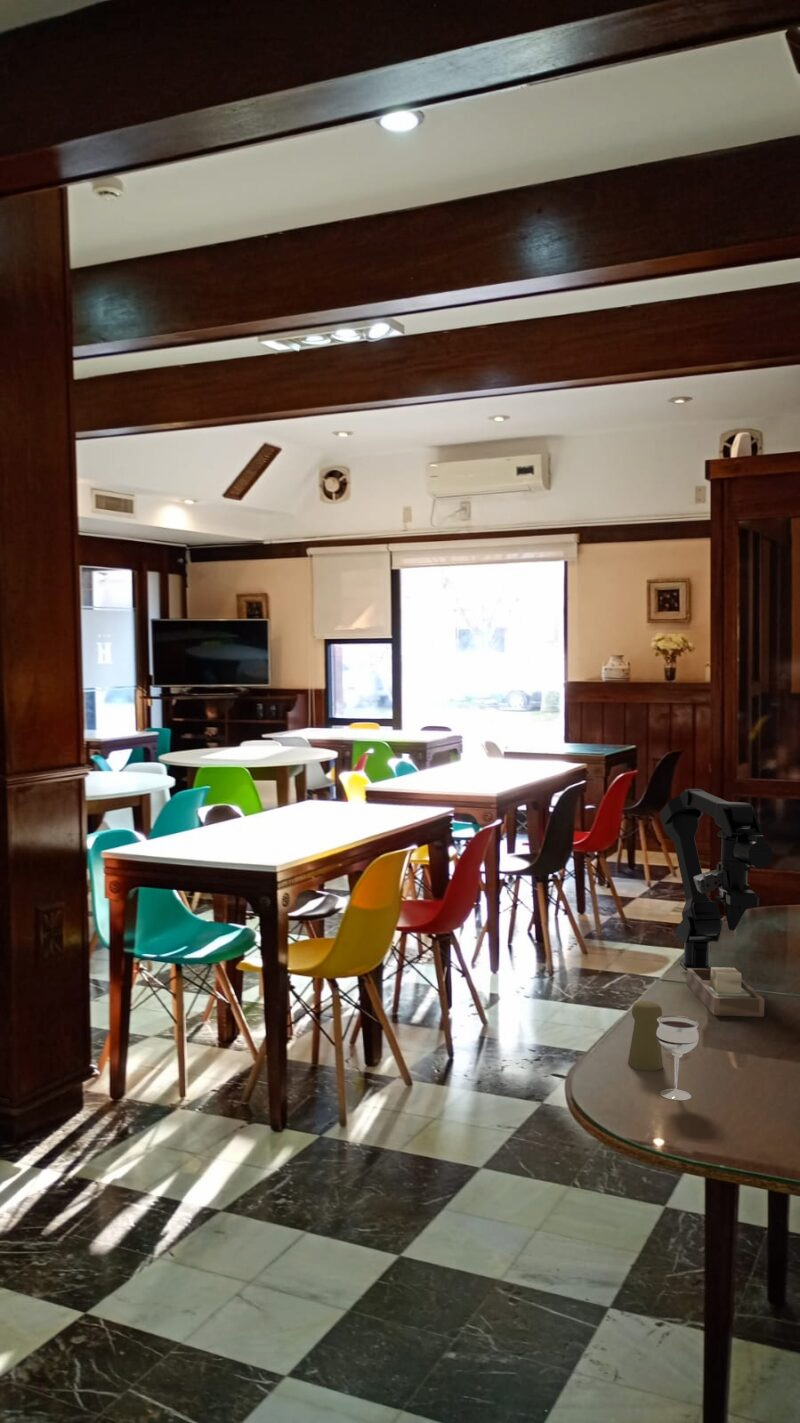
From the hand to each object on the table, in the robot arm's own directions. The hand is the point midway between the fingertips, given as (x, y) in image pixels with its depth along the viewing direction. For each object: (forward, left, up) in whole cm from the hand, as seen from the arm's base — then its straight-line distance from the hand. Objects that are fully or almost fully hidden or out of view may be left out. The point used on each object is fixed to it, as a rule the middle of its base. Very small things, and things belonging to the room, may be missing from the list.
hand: (731, 930), depth 255 cm
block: (+14, -5, -10) cm, 17 cm away
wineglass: (+68, -28, -12) cm, 74 cm away
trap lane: (+12, -5, -12) cm, 18 cm away
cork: (+54, -30, -12) cm, 63 cm away
